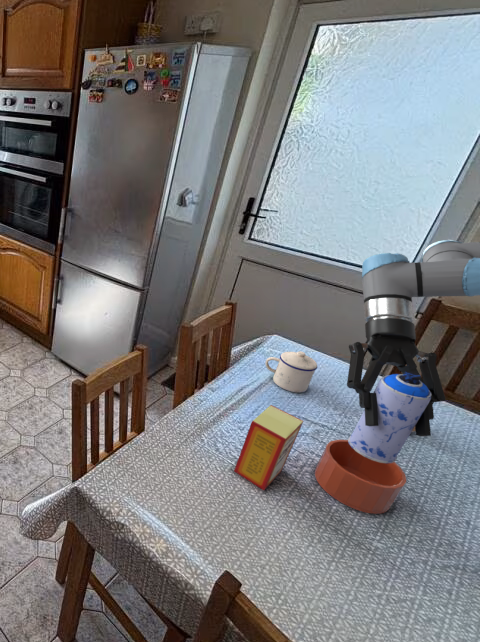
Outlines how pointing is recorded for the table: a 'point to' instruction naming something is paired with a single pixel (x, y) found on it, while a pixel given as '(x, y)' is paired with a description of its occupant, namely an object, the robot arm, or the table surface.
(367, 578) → the table surface
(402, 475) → the terracotta bowl
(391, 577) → the table surface
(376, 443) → the aerosol can
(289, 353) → the teacup with lid
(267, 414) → the baking soda box
